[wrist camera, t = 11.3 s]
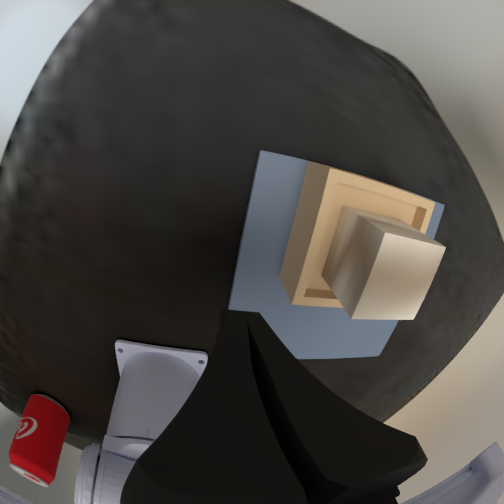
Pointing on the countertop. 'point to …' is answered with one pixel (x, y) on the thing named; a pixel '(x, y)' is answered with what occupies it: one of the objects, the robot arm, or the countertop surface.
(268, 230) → the board
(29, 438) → the beverage can
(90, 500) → the robot arm
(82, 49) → the countertop surface
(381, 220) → the cream block
